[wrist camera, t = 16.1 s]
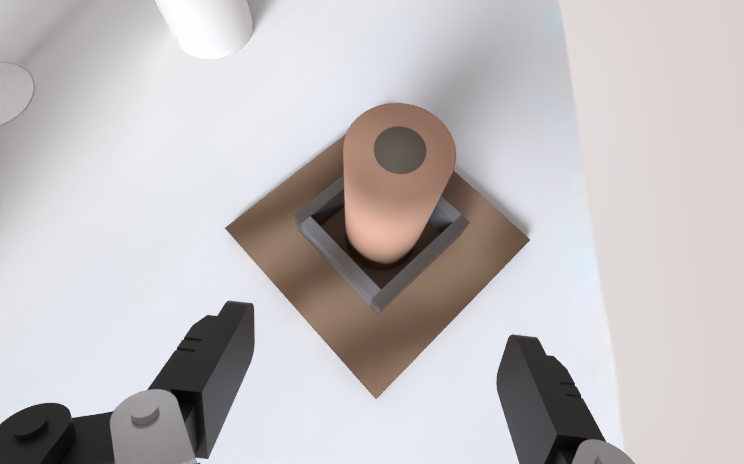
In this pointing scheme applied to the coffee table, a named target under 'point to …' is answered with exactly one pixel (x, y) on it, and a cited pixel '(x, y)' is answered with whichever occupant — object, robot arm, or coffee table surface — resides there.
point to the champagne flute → (14, 91)
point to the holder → (367, 285)
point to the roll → (393, 180)
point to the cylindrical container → (208, 25)
